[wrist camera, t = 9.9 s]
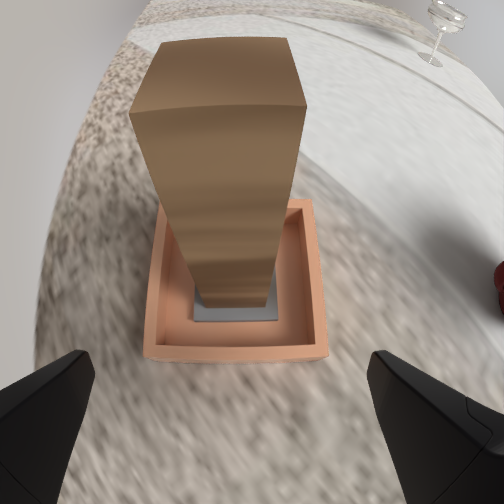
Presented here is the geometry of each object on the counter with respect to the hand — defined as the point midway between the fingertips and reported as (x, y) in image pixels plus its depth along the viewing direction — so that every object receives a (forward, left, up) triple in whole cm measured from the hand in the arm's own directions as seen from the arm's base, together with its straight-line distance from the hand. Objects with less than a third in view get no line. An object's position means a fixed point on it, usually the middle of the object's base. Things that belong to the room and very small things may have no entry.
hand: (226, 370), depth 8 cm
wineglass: (+57, +5, -10) cm, 58 cm away
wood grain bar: (+5, +4, -9) cm, 11 cm away
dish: (+5, +4, -9) cm, 11 cm away
